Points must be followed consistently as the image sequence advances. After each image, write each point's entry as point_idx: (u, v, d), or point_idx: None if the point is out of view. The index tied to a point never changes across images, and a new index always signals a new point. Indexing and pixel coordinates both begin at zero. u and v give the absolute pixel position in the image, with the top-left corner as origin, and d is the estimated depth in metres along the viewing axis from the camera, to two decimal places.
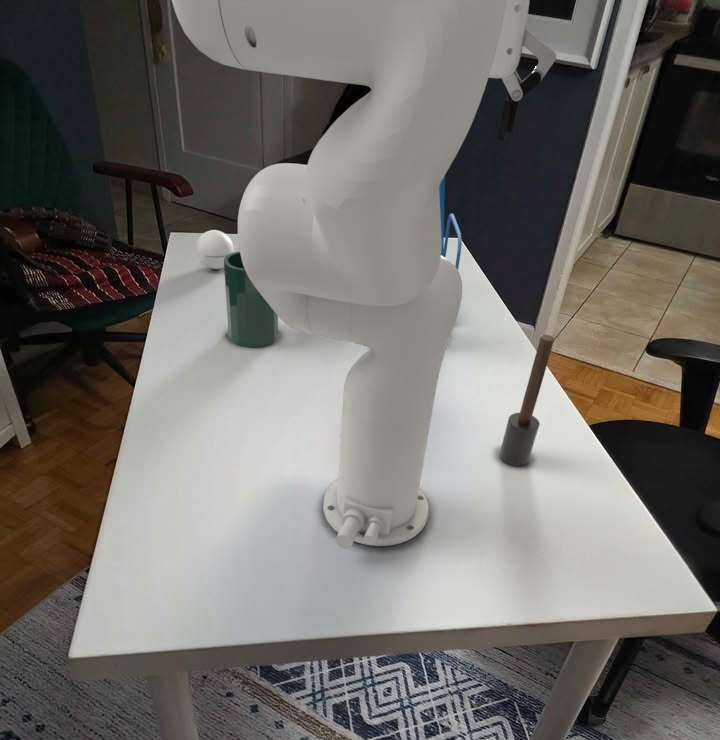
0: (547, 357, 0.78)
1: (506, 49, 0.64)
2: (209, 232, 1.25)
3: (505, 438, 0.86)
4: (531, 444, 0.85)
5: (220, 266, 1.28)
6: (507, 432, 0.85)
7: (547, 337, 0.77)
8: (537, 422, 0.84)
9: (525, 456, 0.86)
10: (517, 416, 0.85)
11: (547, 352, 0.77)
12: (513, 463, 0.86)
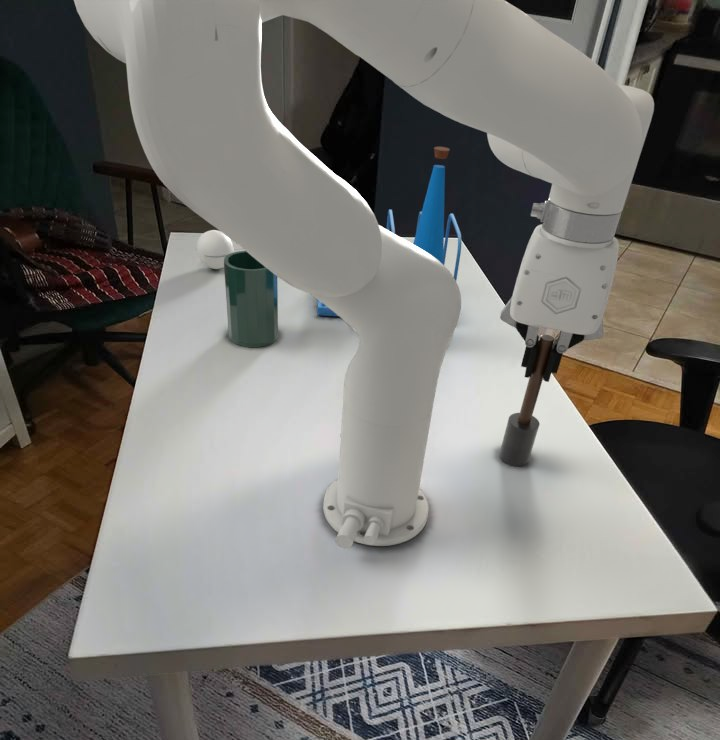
0: (547, 357, 0.78)
1: (591, 315, 0.71)
2: (209, 232, 1.25)
3: (505, 438, 0.86)
4: (531, 444, 0.85)
5: (220, 266, 1.28)
6: (507, 432, 0.85)
7: (547, 337, 0.77)
8: (537, 422, 0.84)
9: (525, 456, 0.86)
10: (517, 416, 0.85)
11: (547, 352, 0.77)
12: (513, 463, 0.86)
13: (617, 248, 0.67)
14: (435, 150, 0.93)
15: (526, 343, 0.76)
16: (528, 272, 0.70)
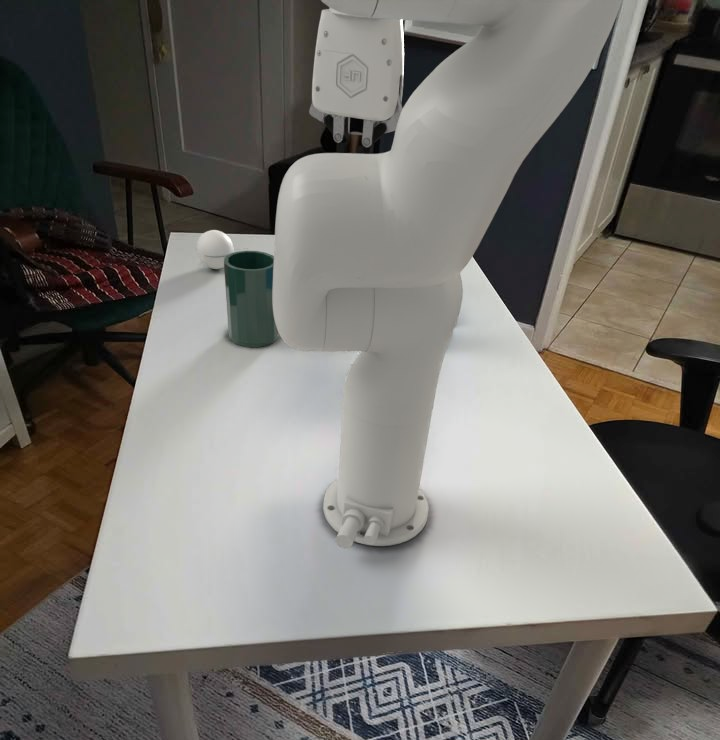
0: None
1: (382, 97, 0.74)
2: (209, 232, 1.25)
3: None
4: None
5: (220, 266, 1.28)
6: None
7: (355, 133, 0.79)
8: None
9: None
10: None
11: (356, 149, 0.80)
12: None
13: (396, 21, 0.70)
14: None
15: (335, 138, 0.79)
16: (320, 53, 0.73)
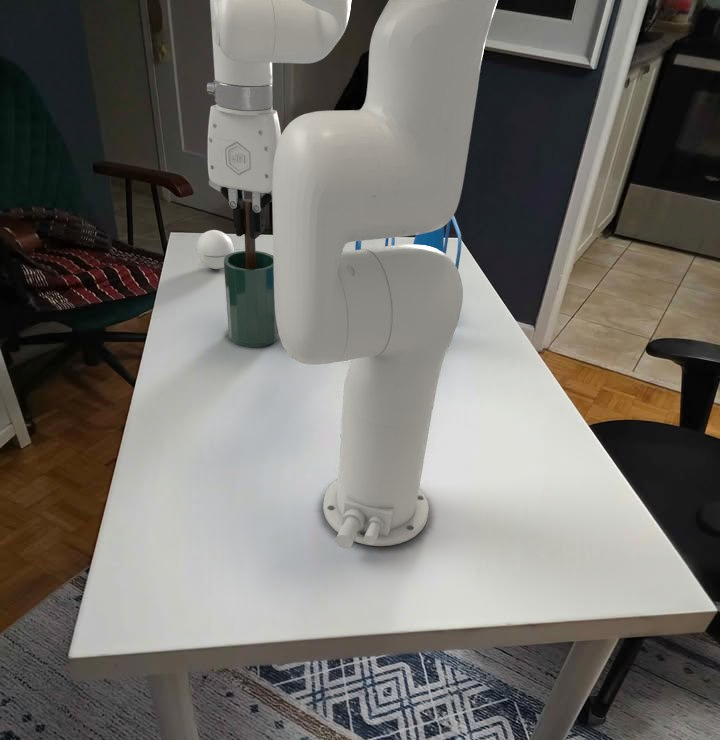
0: None
1: (264, 174, 0.90)
2: (209, 232, 1.25)
3: None
4: None
5: (220, 266, 1.28)
6: None
7: (248, 200, 0.96)
8: None
9: None
10: None
11: None
12: None
13: (269, 116, 0.86)
14: None
15: (230, 205, 0.95)
16: (211, 139, 0.89)
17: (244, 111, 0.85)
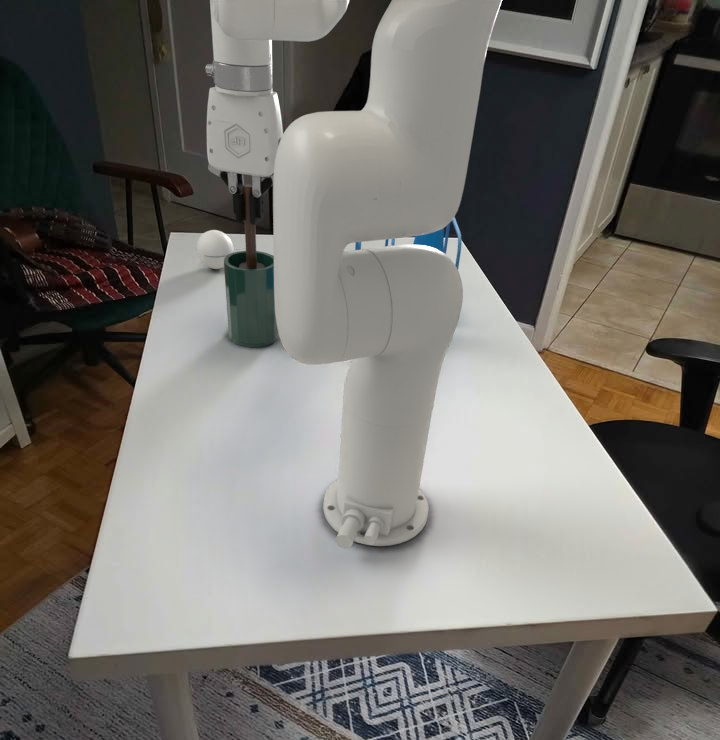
0: None
1: (264, 157, 0.88)
2: (209, 232, 1.25)
3: None
4: None
5: (220, 266, 1.28)
6: None
7: (248, 185, 0.94)
8: (262, 267, 1.02)
9: None
10: None
11: None
12: None
13: (269, 97, 0.85)
14: None
15: (230, 190, 0.94)
16: (210, 122, 0.88)
17: (243, 92, 0.83)
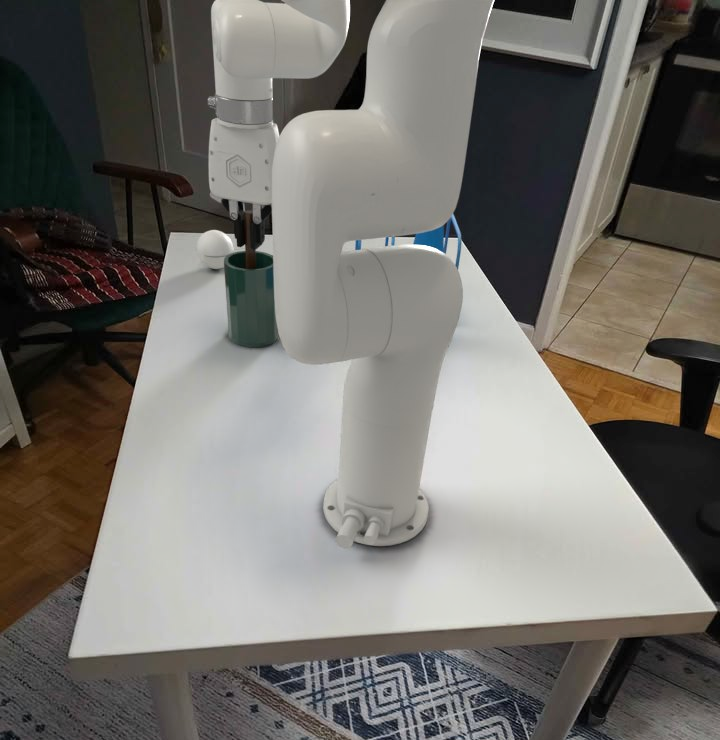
0: None
1: (264, 187, 0.91)
2: (209, 232, 1.25)
3: None
4: None
5: (220, 266, 1.28)
6: None
7: (248, 211, 0.97)
8: None
9: None
10: None
11: None
12: None
13: (270, 130, 0.87)
14: None
15: (231, 216, 0.96)
16: (212, 152, 0.90)
17: (245, 125, 0.86)
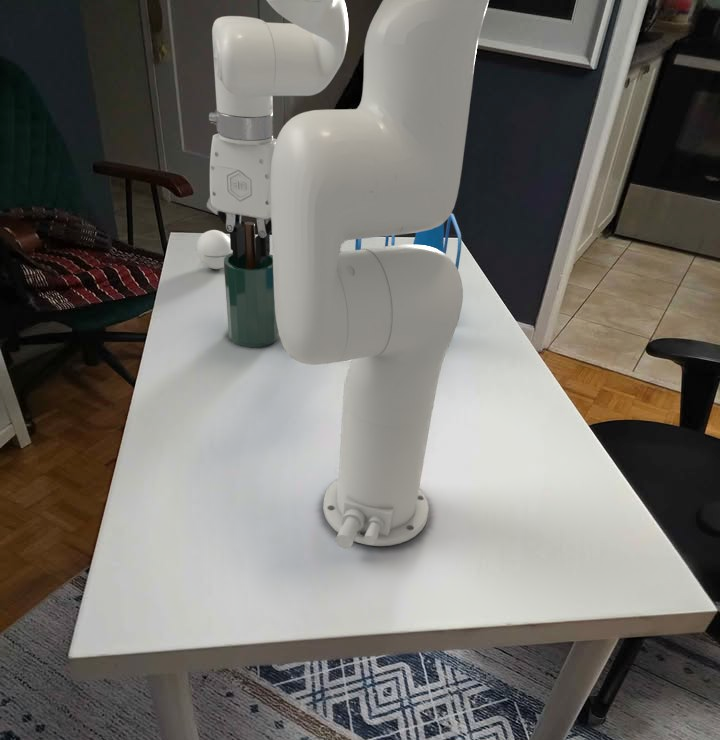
0: (252, 240, 0.99)
1: (265, 201, 0.92)
2: (209, 232, 1.25)
3: None
4: None
5: (220, 266, 1.28)
6: None
7: (249, 223, 0.98)
8: None
9: None
10: None
11: (250, 235, 0.98)
12: None
13: (270, 145, 0.88)
14: None
15: (227, 228, 0.98)
16: (213, 167, 0.91)
17: (245, 141, 0.87)
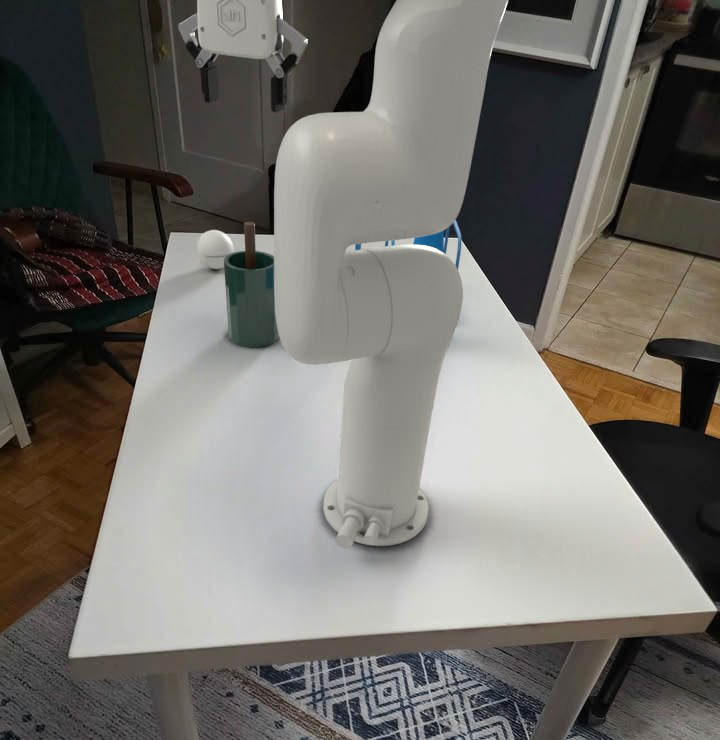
0: (252, 240, 0.99)
1: (261, 35, 0.80)
2: (209, 232, 1.25)
3: None
4: None
5: (220, 266, 1.28)
6: None
7: (249, 223, 0.98)
8: None
9: None
10: None
11: (250, 235, 0.98)
12: None
13: None
14: None
15: (196, 60, 0.85)
16: None
17: None
